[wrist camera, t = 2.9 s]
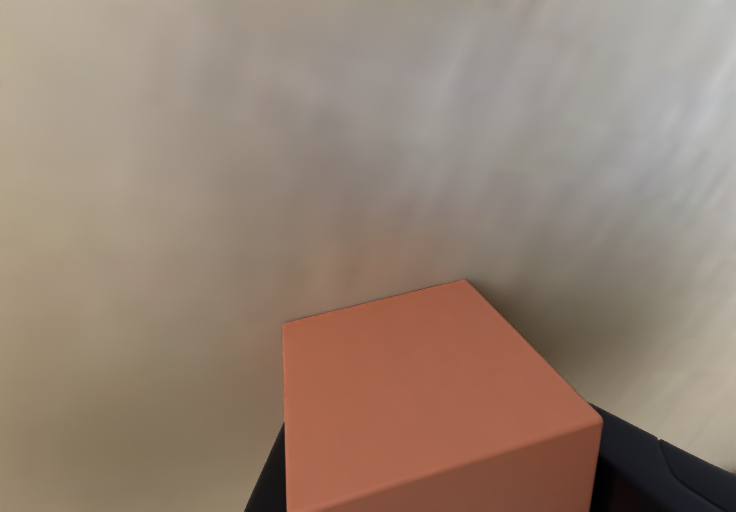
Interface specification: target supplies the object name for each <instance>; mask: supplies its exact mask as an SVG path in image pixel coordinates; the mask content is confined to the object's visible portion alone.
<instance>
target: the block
mask: <svg viewBox="0 0 736 512" xmlns="http://www.w3.org/2000/svg"><path fill="white" fill-rule="evenodd" d="M282 336H283V377H284V418H285V459H286V500H287V512H590V506H591V500H592V493H593V487H594V480H595V474H596V467H597V461H598V454H599V448H600V441H601V435H602V428H603V419H602V417H601V416H600V415H599V414H598V413H597V412H596V411H595V410H594V409H593V408H592V407H591V405H590V404H589V403H588V402H587V401H586V400H585V399H584V398H583V397H582V396H581V395H580V394H579V393H578V392H577V391H576V390H575V389H574V388H573V387H572V386H571V385H570V384H569V383H568V382H567V381H566V380H565V379H564V378H563V377H562V376H561V375H560V374H559V373H558V372H557V371H556V370H555V369H554V368H553V367H552V366H551V365H550V364H549V363H548V362H547V361H546V360H545V359H544V358H543V357H542V356H541V355H540V354H539V353H538V352H537V351H536V350H535V349H534V348H533V347H532V346H531V345H530V344H529V343H528V342H527V341H526V340H525V339H524V338H523V337H522V336H521V335H520V334H519V333H518V332H517V331H516V330H515V329H514V328H513V327H512V326H511V325H510V324H509V322H508V321H507V320H506V319H505V318H504V317H503V316H502V315H501V314H500V313H499V312H498V311H497V310H496V309H495V308H494V307H493V306H492V305H491V304H490V303H489V302H488V301H487V300H486V299H485V298H484V297H483V296H482V295H481V294H480V293H479V292H478V291H477V290H476V289H475V288H474V287H473V286H472V285H471V284H470V283H469V282H468V281H467V280H465V279H462V280H458V281H454V282H450V283H446V284H442V285H438V286H433V287H429V288H425V289H421V290H417V291H413V292H409V293H405V294H401V295H397V296H392V297H388V298H384V299H380V300H376V301H372V302H368V303H364V304H360V305H355V306H351V307H347V308H343V309H339V310H335V311H331V312H327V313H323V314H319V315H314V316H310V317H306V318H302V319H298V320H294V321H290V322H286V323H284V324H283V326H282Z"/></svg>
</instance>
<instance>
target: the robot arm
mask: <svg viewBox="0 0 736 512" xmlns="http://www.w3.org/2000/svg"><path fill="white" fill-rule="evenodd" d="M588 403H589V402H588ZM589 404H590V405H591V407H592V408H593V409H594V410H595V411H596V412H597V413H598V414H599V415H600V416H601V417H602V419H603V428H602V435H601V441H600V448H599V454H598V461H597V467H596V474H595V480H594V487H593V493H592V500H591V506H590V512H736V475H734V474H732V473H730V472H728V471H725V470H723V469H721V468H719V467H717V466H714V465H712V464H710V463H708V462H706V461H704V460H702V459H700V458H698V457H696V456H694V455H692V454H690V453H688V452H686V451H684V450H682V449H680V448H678V447H676V446H674V445H672V444H670V443H668V442H666V441H664V440H662V439H659V440H658V438H657V437H656V436H654V435H652V434H650V433H648V432H646V431H644V430H642V429H640V428H638V427H636V426H634V425H632V424H630V423H628V422H626V421H624V420H622V419H620V418H618V417H616V416H614V415H612V414H611V413H609V412H607V411H605V410H603V409H601V408H599V407H597V406H595V405H593V404H591V403H589ZM244 512H287V500H286V459H285V421H284V423H283V425H282V427H281V430H280V432H279V434H278V436H277V438H276V441H275V443H274V445H273V447H272V450H271V452H270V454H269V456H268V459H267V461H266V463H265V465H264V468H263V470H262V472H261V474H260V477H259V479H258V481H257V483H256V486H255V488H254V490H253V492H252V494H251V497H250V499H249V501H248V503H247V506H246V508H245V510H244Z"/></svg>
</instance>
